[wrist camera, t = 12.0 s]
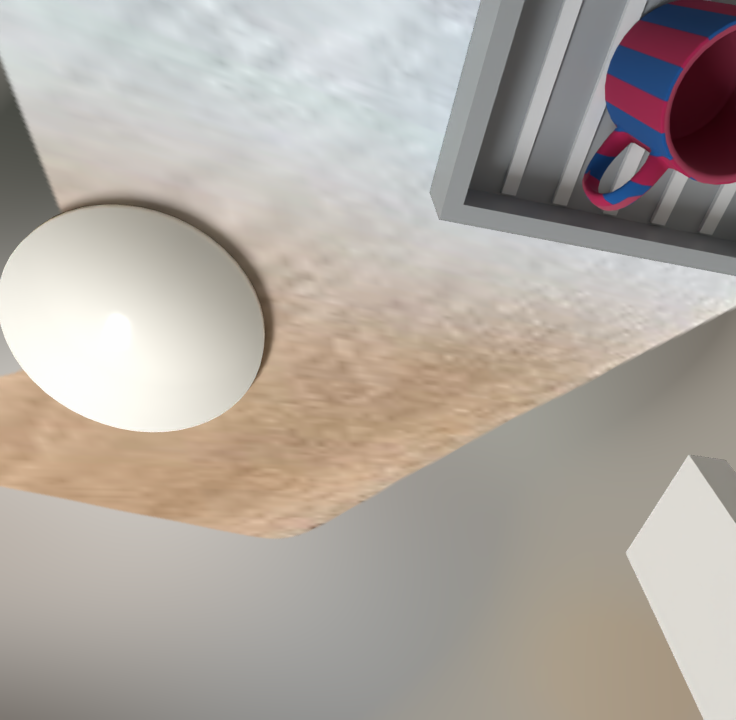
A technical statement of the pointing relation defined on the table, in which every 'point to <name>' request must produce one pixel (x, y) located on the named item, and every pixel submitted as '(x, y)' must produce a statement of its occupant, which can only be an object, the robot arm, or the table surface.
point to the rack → (565, 141)
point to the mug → (671, 99)
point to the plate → (132, 318)
